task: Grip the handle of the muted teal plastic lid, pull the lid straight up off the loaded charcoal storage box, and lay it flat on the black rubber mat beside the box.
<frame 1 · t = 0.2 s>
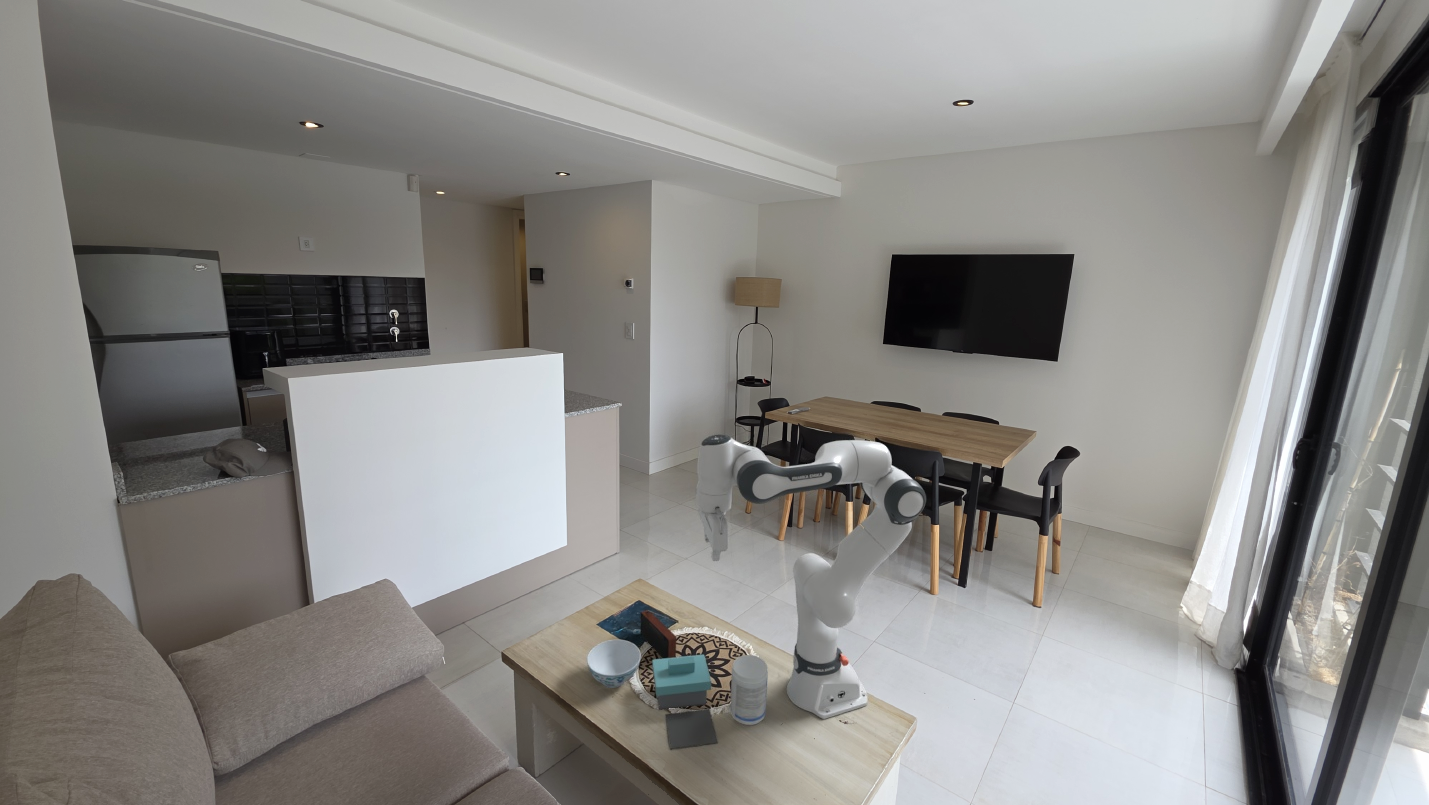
hand: (711, 550, 144), 47 cm above the table, tool pointing down, fingers open, 8 cm apart
chinaware: (614, 680, 164), on the table
supplement tub: (747, 713, 154), on the table
radio: (658, 650, 177), on the table
lid: (680, 678, 157), point 5 cm above the table, touching storage box
mat: (690, 729, 147), on the table
storage box: (680, 695, 159), on the table
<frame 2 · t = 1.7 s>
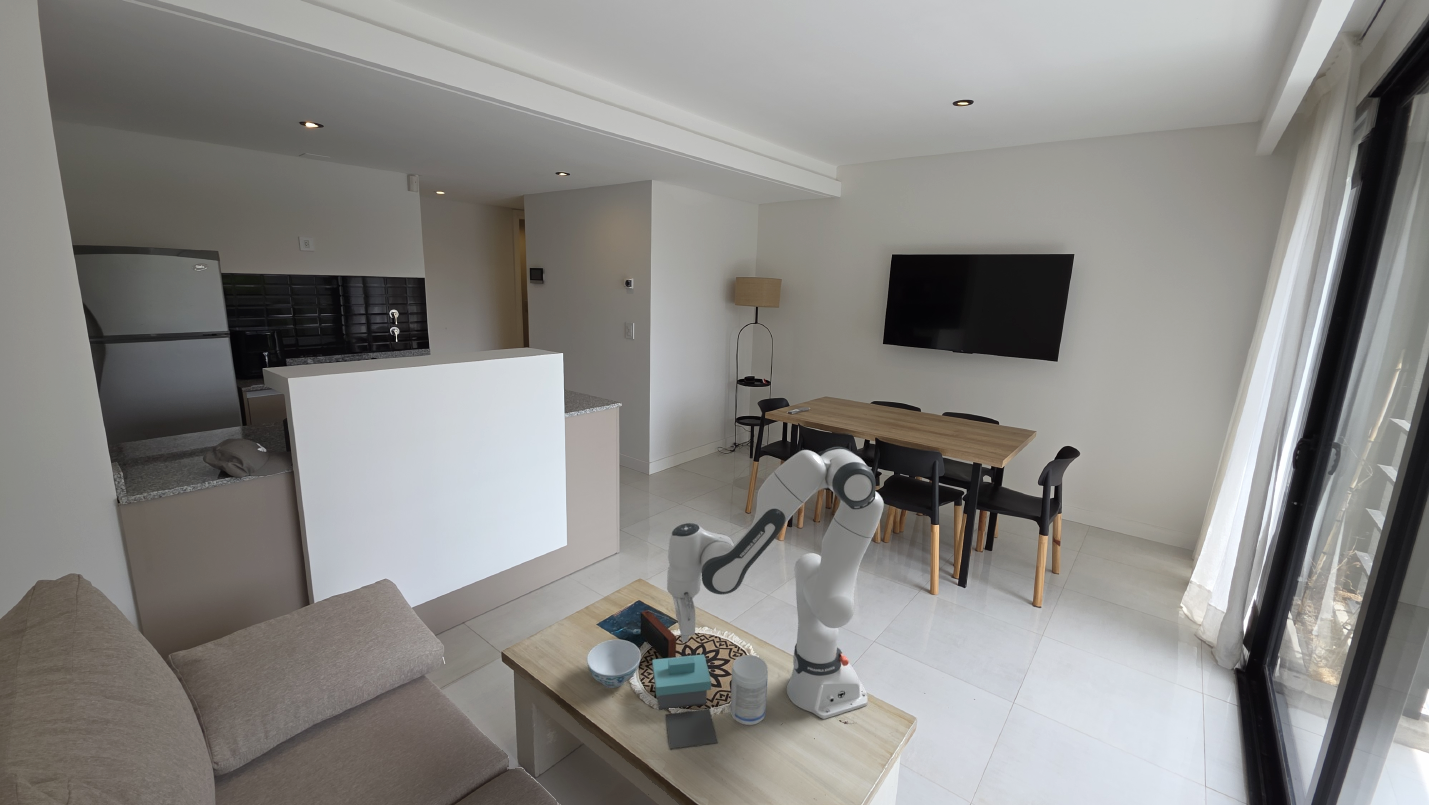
hand: (681, 628, 153), 21 cm above the table, tool pointing down, fingers open, 8 cm apart
nothing on the table moved.
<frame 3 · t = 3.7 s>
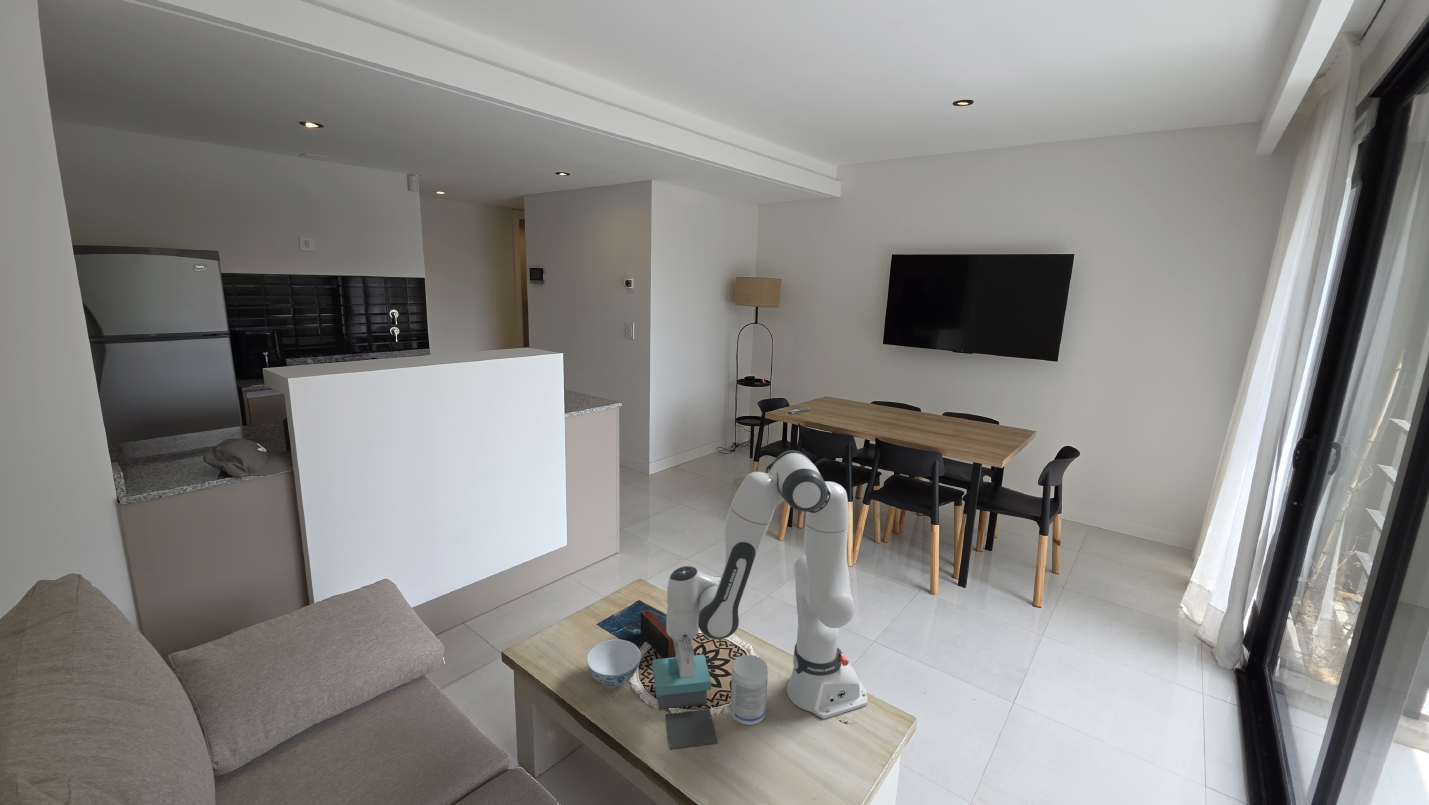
hand: (681, 668, 156), 9 cm above the table, tool pointing down, fingers closed on lid, 2 cm apart
lid: (680, 678, 157), point 5 cm above the table, touching gripper, storage box
everything else where it was.
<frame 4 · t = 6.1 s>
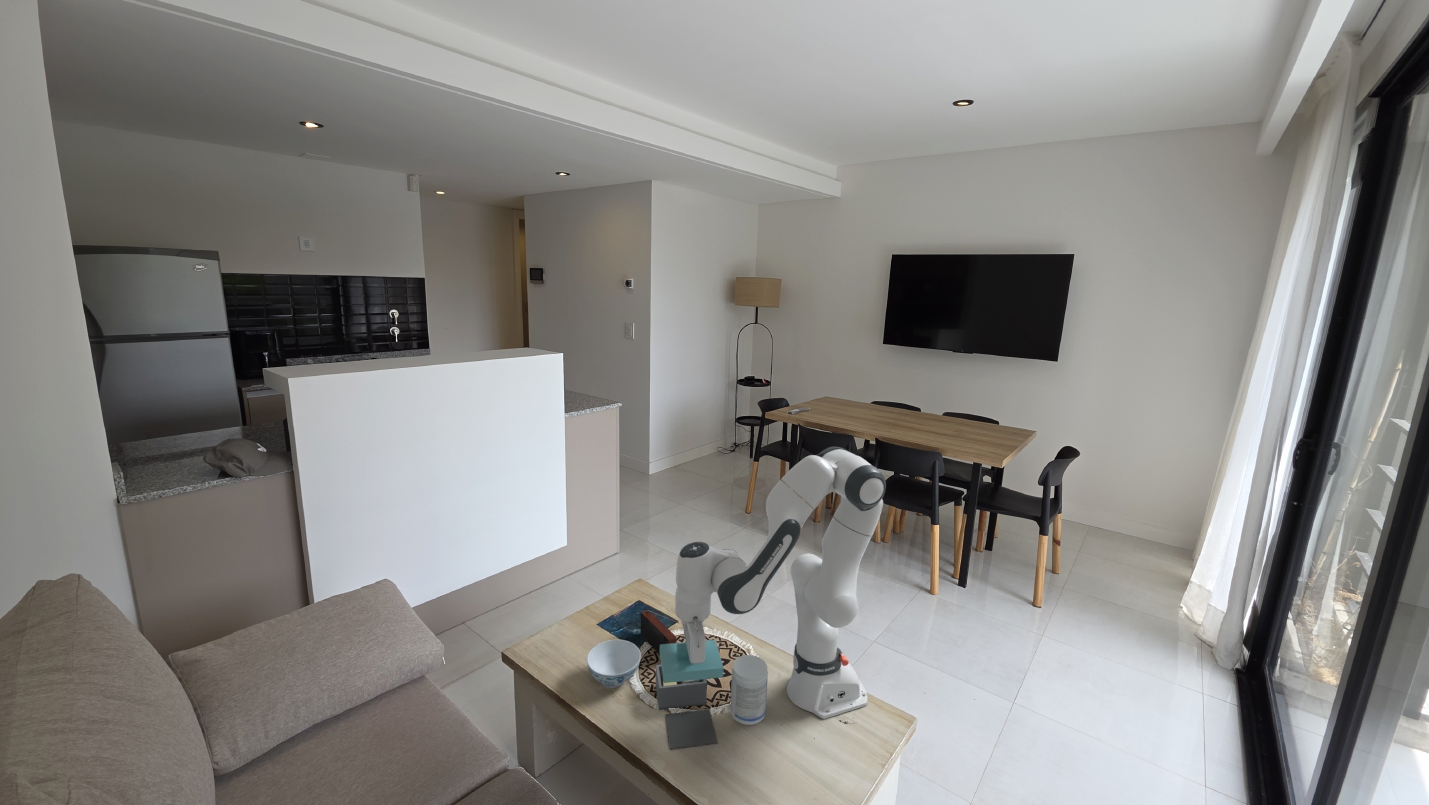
hand: (691, 654, 144), 21 cm above the table, tool pointing down, fingers closed on lid, 2 cm apart
lid: (690, 665, 145), point 18 cm above the table, touching gripper
everything else where it was.
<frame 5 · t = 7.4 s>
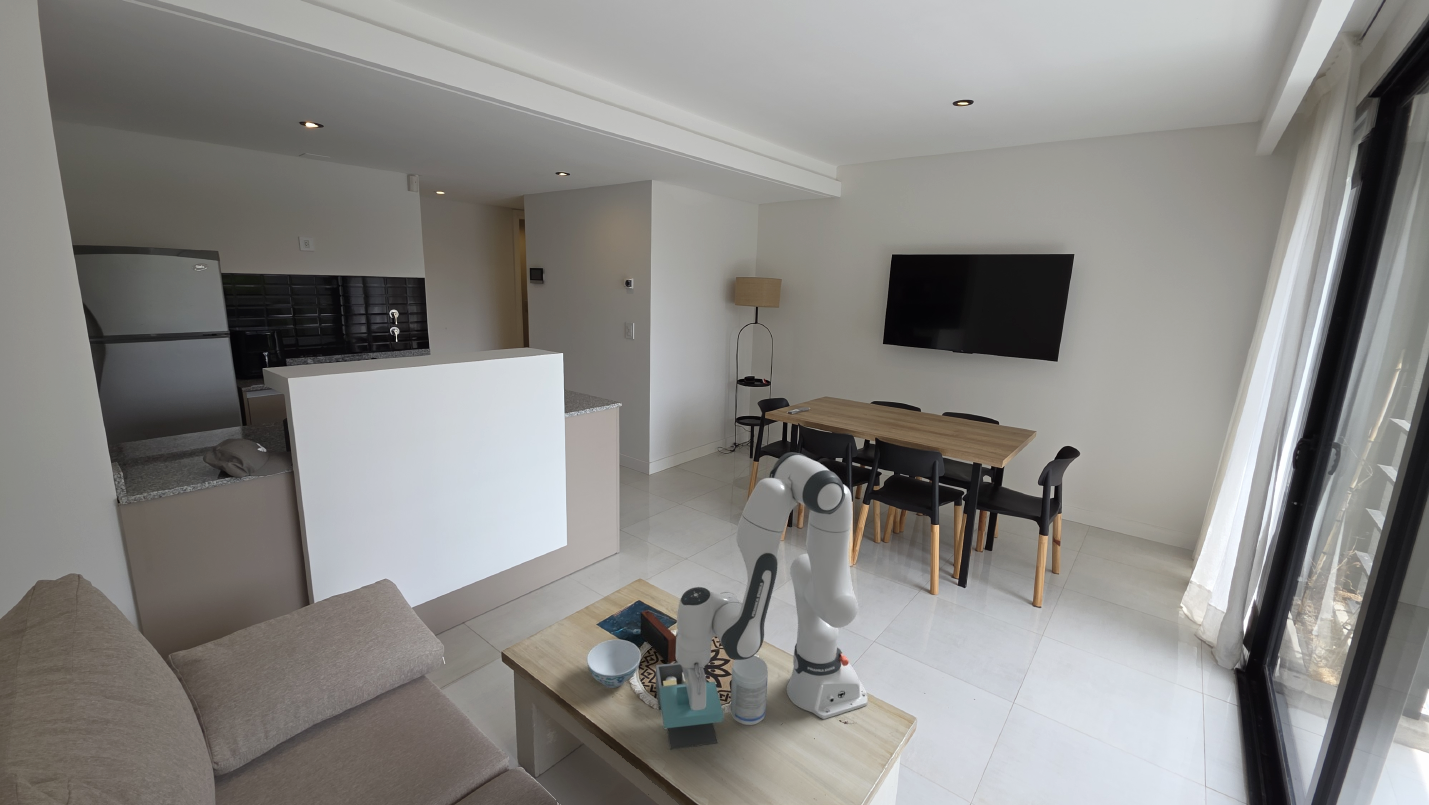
hand: (691, 697, 145), 10 cm above the table, tool pointing down, fingers closed on lid, 2 cm apart
lid: (690, 708, 146), point 6 cm above the table, touching gripper
everything else where it was.
when the fingers open (5 cm above the table, at t = 8.6 s): lid drops 1 cm, resting on mat.
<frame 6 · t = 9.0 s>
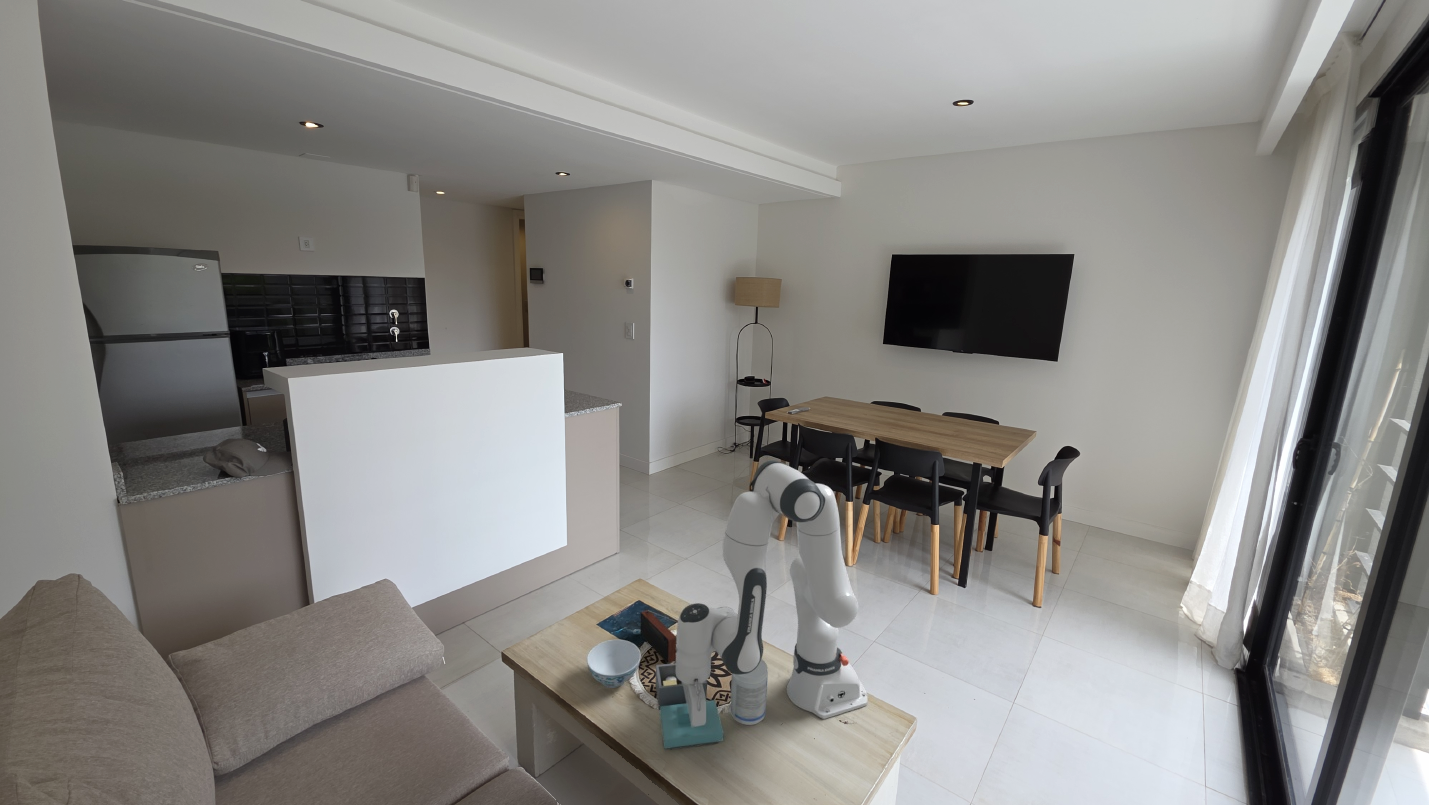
hand: (691, 712, 146), 5 cm above the table, tool pointing down, fingers open, 7 cm apart
lid: (690, 727, 147), resting on mat
everything else where it was.
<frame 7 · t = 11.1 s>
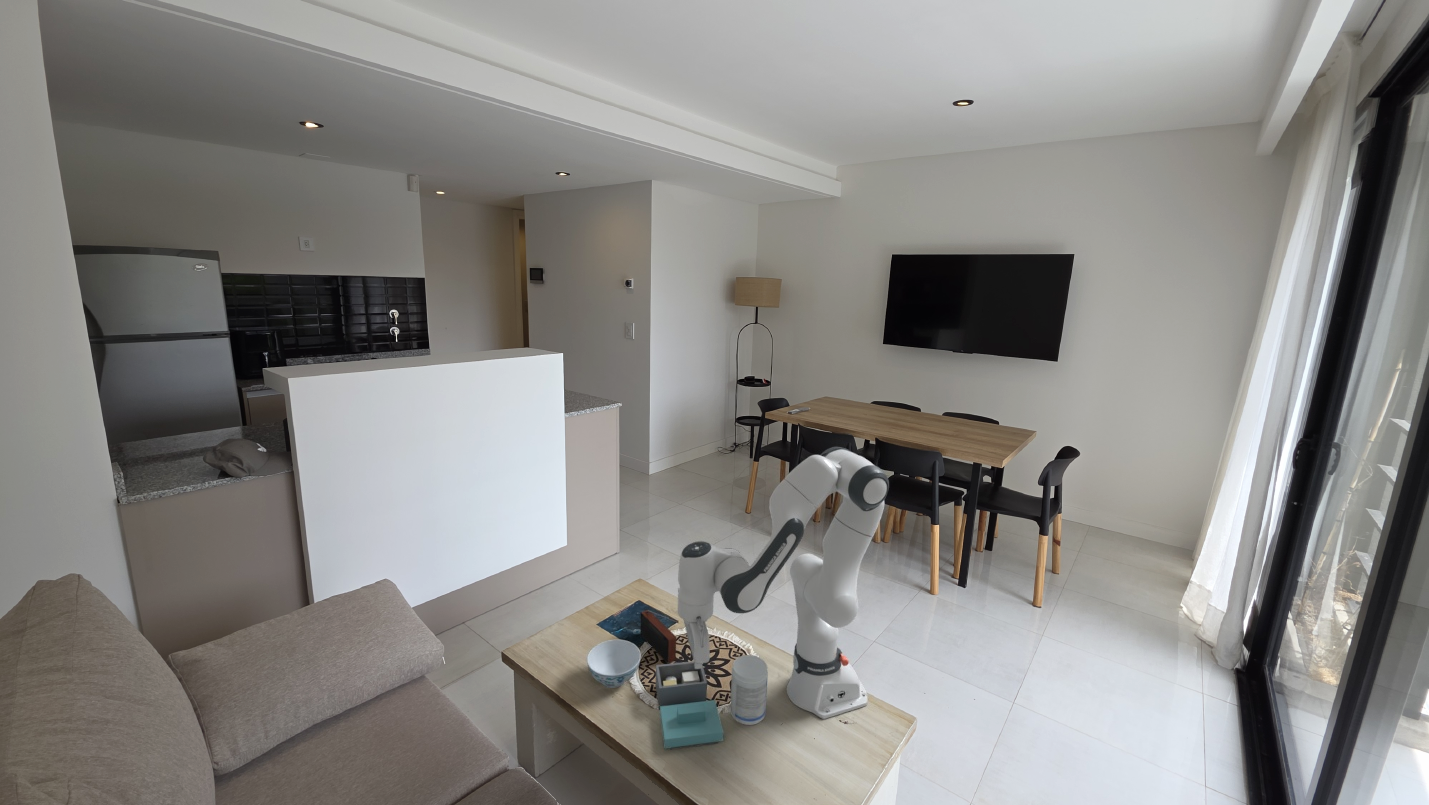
hand: (694, 654, 143), 22 cm above the table, tool pointing down, fingers open, 8 cm apart
nothing on the table moved.
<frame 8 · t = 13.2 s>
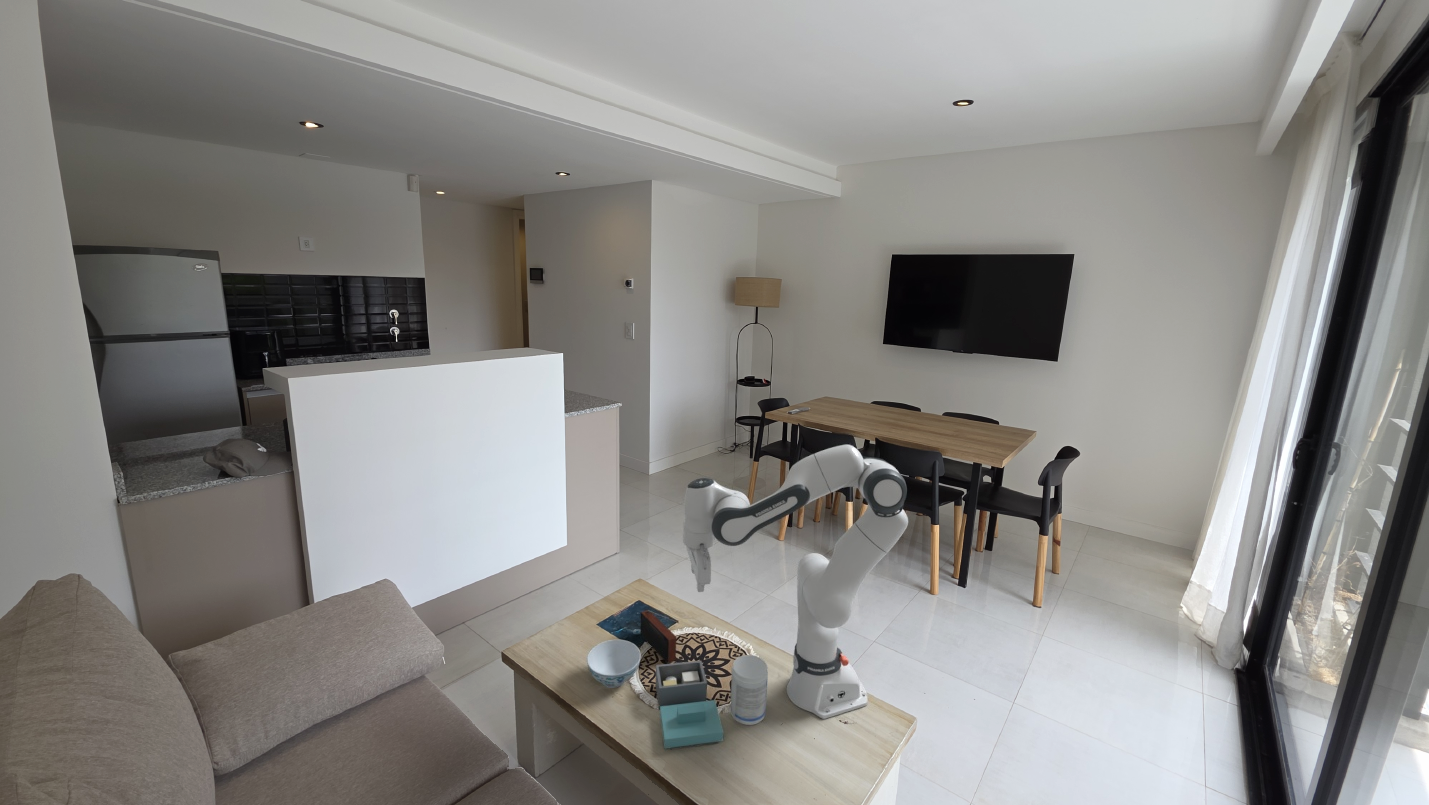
hand: (697, 581, 159), 31 cm above the table, tool pointing down, fingers open, 8 cm apart
nothing on the table moved.
at the end: lid inside the target area (0.0 cm from its centre), resting on mat; lid tilted 0°; lid touching mat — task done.
